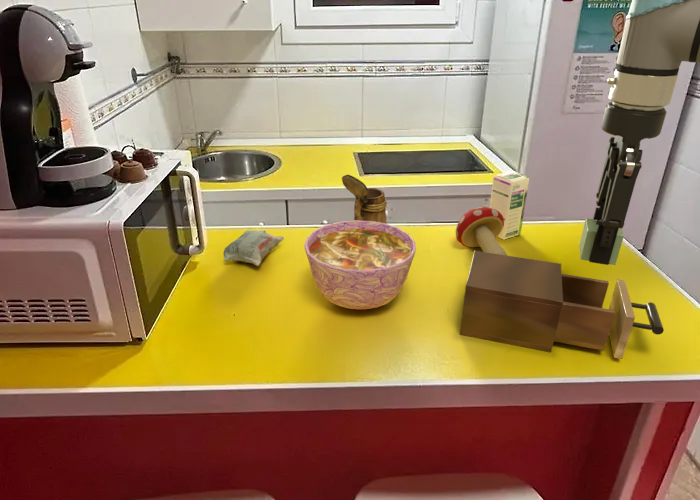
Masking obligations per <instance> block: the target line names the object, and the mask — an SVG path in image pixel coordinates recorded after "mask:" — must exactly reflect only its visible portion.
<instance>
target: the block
mask: <svg viewBox="0 0 700 500" xmlns="http://www.w3.org/2000/svg"><path fill="white" fill-rule="evenodd" d="M595 222H596V220H595V219H593V218H585V220H584V224H583V228H582V232H581V236H580V239H579V244H578V249H579V256H580V260H581V261H587V262H589V258H590V254H591V251H592V247H593V243H594V239H595V235H596V231H597V227H598V225H597V224H595ZM624 237H625V235H624V232H623V228H619V229H618V233H617V236H616V240H615V244H614V247H613V251H612V254H611V258H610V262H609V265H612V266H616V264H617V261H618V258H619V255H620V251H621V248H622V243H623V240H624Z"/></svg>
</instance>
